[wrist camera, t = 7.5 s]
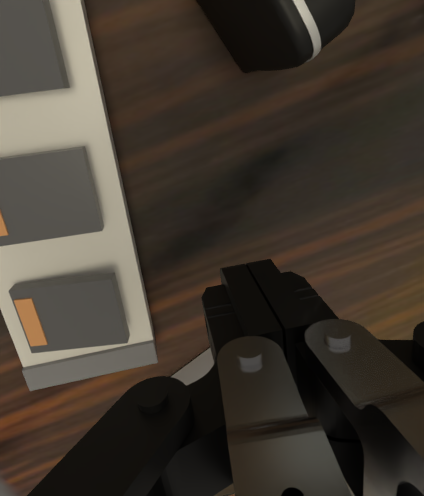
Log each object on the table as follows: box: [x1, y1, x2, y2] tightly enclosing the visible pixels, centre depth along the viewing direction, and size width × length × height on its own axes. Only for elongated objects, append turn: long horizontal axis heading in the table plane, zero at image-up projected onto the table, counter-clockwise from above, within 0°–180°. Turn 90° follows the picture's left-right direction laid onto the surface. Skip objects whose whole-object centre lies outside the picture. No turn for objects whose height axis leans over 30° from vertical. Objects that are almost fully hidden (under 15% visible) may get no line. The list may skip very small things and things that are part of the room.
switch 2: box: [9, 272, 130, 353], centre depth 27 cm, size 5×7×1 cm
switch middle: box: [0, 146, 104, 246], centre depth 24 cm, size 5×7×1 cm
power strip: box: [0, 0, 158, 391], centre depth 26 cm, size 30×10×3 cm, turn 7°
